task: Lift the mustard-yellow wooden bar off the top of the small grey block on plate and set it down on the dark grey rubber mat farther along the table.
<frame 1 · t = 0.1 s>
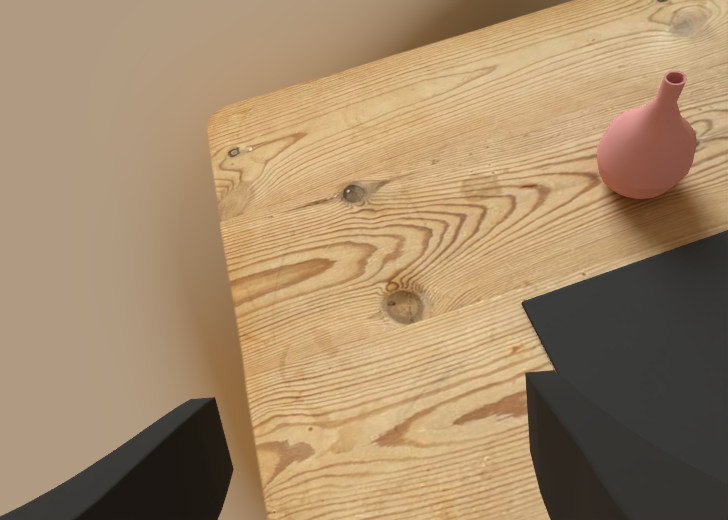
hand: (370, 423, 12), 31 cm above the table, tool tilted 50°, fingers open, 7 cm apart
pink bud vase: (632, 180, 50), on the table
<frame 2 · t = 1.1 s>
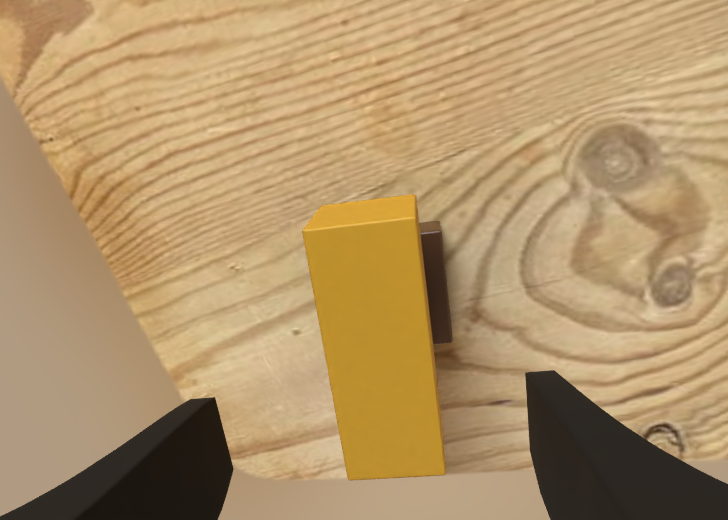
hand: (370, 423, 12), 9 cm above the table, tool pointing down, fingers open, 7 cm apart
bar: (384, 317, 18), point 3 cm above the table, touching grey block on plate
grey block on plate: (389, 280, 21), on the table
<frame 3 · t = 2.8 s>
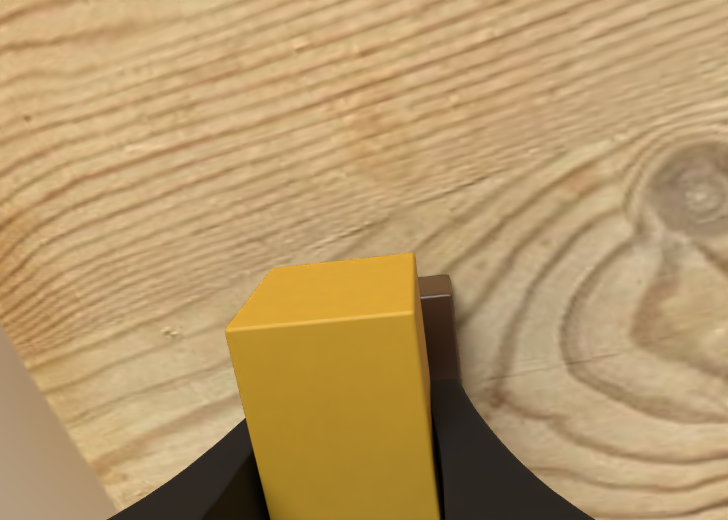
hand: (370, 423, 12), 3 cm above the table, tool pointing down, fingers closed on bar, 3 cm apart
bar: (368, 425, 12), point 4 cm above the table, touching gripper, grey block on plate
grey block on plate: (379, 352, 15), on the table
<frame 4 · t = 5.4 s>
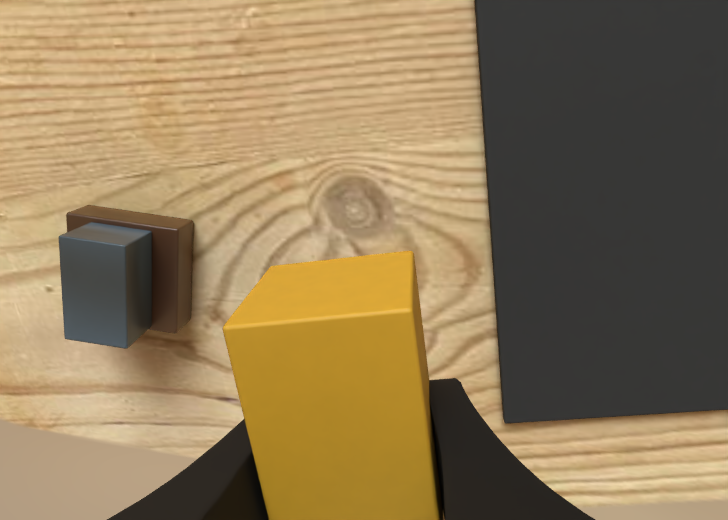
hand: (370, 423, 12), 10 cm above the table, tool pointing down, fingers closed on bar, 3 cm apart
bar: (367, 424, 12), point 10 cm above the table, touching gripper
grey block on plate: (141, 263, 22), on the table
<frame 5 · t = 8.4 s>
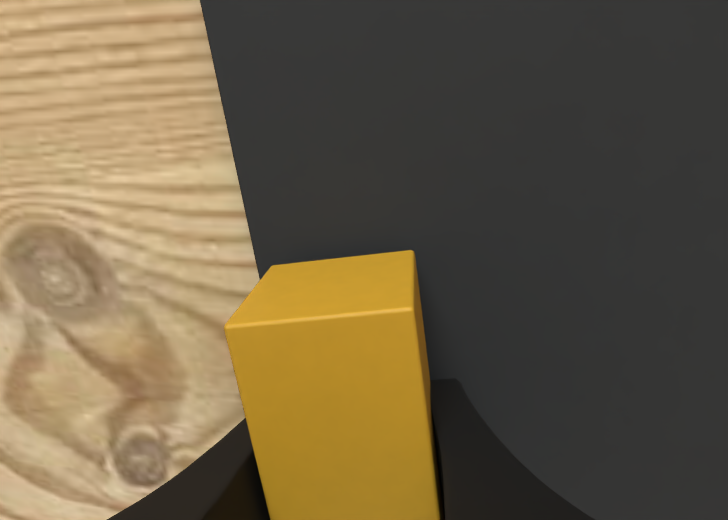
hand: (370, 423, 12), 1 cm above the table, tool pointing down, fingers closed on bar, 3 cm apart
bar: (368, 423, 12), point 1 cm above the table, touching gripper
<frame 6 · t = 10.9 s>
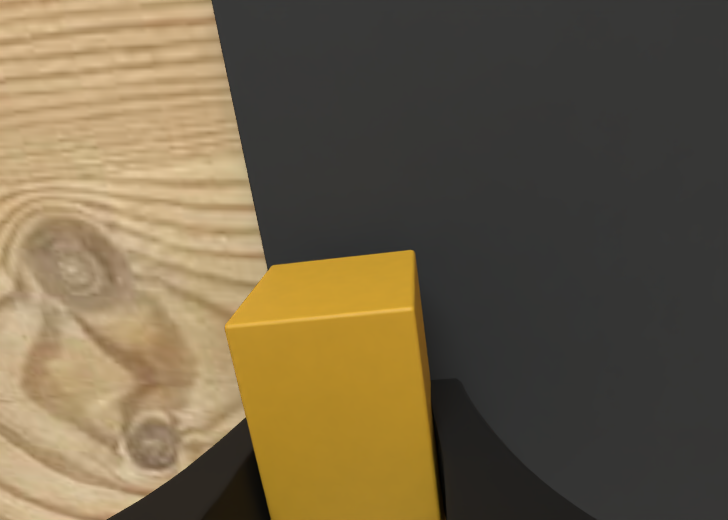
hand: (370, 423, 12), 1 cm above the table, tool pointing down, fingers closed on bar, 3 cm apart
bar: (368, 423, 12), point 2 cm above the table, touching gripper
when the fingers open (2 cm above the table, at t = 13.3 s): bar drops 2 cm, resting on mat.
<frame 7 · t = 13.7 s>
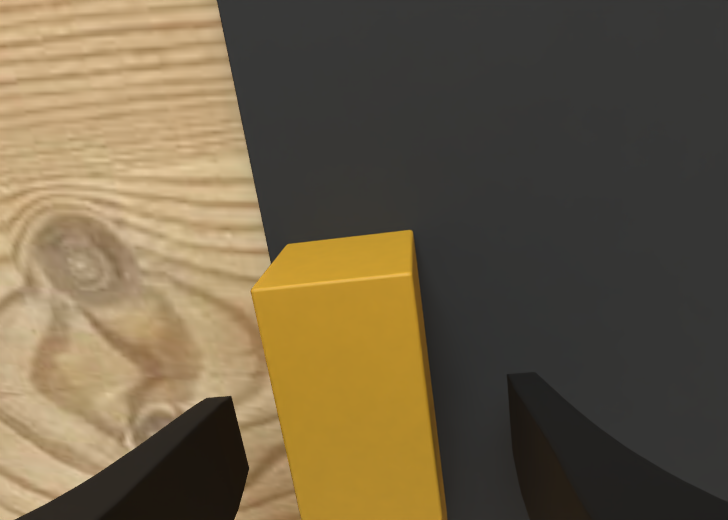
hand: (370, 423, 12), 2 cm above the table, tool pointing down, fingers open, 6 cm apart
bar: (372, 386, 14), resting on mat
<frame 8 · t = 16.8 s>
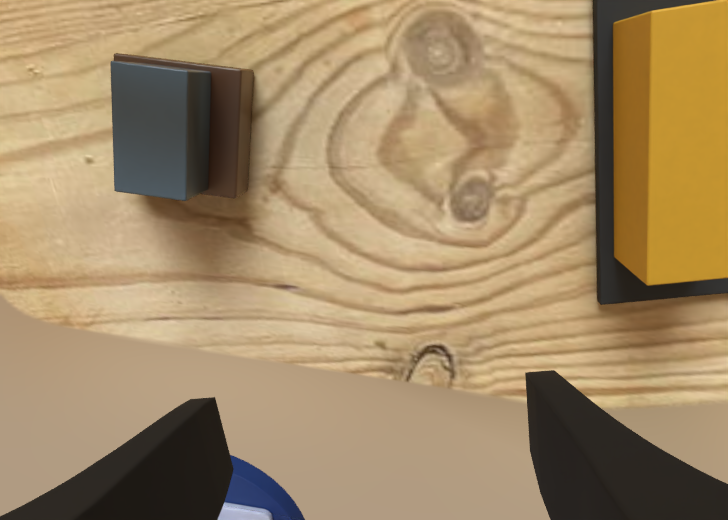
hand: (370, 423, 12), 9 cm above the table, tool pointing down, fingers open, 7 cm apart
bar: (658, 141, 18), resting on mat
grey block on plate: (193, 125, 20), on the table
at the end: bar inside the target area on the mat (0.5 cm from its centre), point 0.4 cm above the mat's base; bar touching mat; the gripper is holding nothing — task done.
